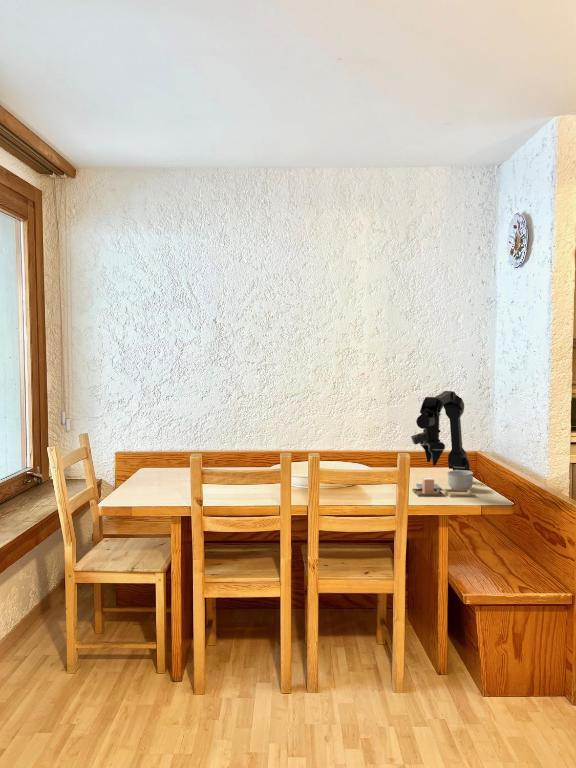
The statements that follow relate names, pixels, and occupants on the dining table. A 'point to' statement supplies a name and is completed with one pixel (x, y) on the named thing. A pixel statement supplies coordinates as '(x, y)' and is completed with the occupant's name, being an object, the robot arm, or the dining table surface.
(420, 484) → the slate tile
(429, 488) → the letter block
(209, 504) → the dining table surface
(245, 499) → the dining table surface
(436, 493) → the walnut tray
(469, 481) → the teacup
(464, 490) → the oak tray
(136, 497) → the dining table surface
